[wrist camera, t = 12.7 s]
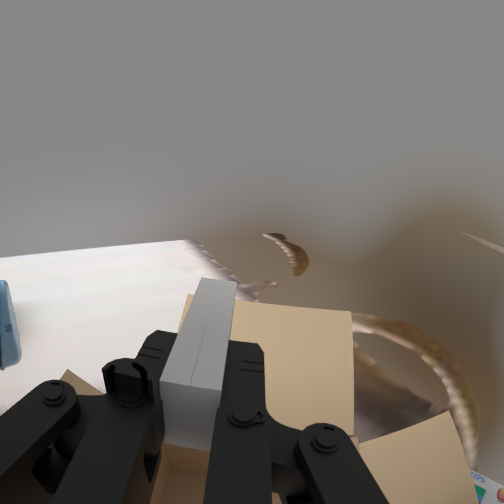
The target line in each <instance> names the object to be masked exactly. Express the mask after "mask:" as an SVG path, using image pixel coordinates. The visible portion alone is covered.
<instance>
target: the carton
mask: <svg viewBox="0 0 504 504" xmlns="http://www.w3.org/2000/svg"><path fill="white" fill-rule="evenodd" d="M60 380H62V381H65V382H67V383H69V384H70V385H71V386H73V387H74V389H75V391H76V394H77V395H103V393H102V392H100V391H99V390H97V389H96V388H94V387H93V386H91V385H90V384H88V383H87V382H85V381H84V380H82V379H81V378H79V377H78V376H77V375H75V374H74V373H72V372H71V371H70V370H68V369H67V370H66V372H65V373H64V375H63V376H62V377H61V379H60ZM350 439H351V440H352V442H353V444H354V445H355V447H356V449H357V450H358V452H359V454H360V455H361V457H362V459H363V460H364V462H365V464H366V465H367V467H368V469H369V470H370V472H371V474H372V475H373V477H374V479H375V480H376V482H377V484H378V485H379V487H380V489H381V490H382V492H383V494H384V495H385V497H386V498H387V500H388V502H389V503H390V504H479V501H478V497H477V493H476V490H475V486H474V483H473V479H472V476H471V472H470V469H469V466H468V463H467V460H466V457H465V454H464V451H463V448H462V445H461V442H460V439H459V436H458V433H457V431H456V428H455V425H454V422H453V420H452V417H451V415H450V412H449V411H447V412H445V413H442V414H440V415H438V416H435V417H433V418H431V419H428V420H426V421H423V422H421V423H418V424H416V425H413V426H410V427H408V428H405V429H402V430H399V431H397V432H394V433H391V434H388V435H385V436H382V437H379V438H375V439H372V440H369V441H365V442H362V443H359V439H358V437H350ZM161 450H162V459H161V463H160V466H159V470H158V474H157V478H156V481H155V485H154V489H153V493H152V497H151V501H150V504H203V498H204V491H205V484H206V477H207V470H208V464H209V457H210V451H206V450H199V449H193V448H187V447H181V446H176V445H171V444H166V443H165V436H164V438H163V442H162V445H161ZM272 504H282V503H281V500H280V497H279V494H277V493H274V492H272Z"/></svg>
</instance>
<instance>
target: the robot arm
mask: <svg viewBox="0 0 504 504" xmlns="http://www.w3.org/2000/svg"><path fill="white" fill-rule="evenodd" d="M236 286H237V282H232V281H224V280H216V279H209V278H201V281H200V283H199V285H198V288H197V290H196V292H195V295H194V297H193V299H192V302H191V304H190V306H189V309H188V311H187V314H186V316H185V318H184V321H183V323H182V326H181V328H180V331H179V333H172V332H166V331H160V330H156V331H155V332H153V333H152V334H150V335H149V336H147V338H146V340H145V341H144V343H143V345H142V348H141V349H140V351H139V352H138V355H137V356H136V358H135V359H130V358H122V359H115V360H113V361H111V362H109V363H107V364H106V365H105V366H104V367H103V368H102V373H103V378H104V382H105V387H106V392H107V393H106V394H103V395H77V394H76V391H75V389H74V387H73V386H71V385H70V384H69V383H67V382H65V381H62V380H49V381H45V382H43V383H41V384H40V385H38V386H37V387H35V388H34V389H33V390H32V391H30V392H29V393H28V394H27V395H26V396H24V397H23V398H22V399H21V400H19V401H18V402H17V403H16V404H15V405H13V406H12V407H11V408H10V409H9V410H7V411H6V412H5V413H4V414H2V415H1V416H0V504H150V501H151V497H152V493H153V489H154V485H155V481H156V478H157V474H158V470H159V466H160V463H161V459H162V450H161V445H162V442H163V438H164V436H165V443H166V444H171V445H176V446H181V447H187V448H193V449H199V450H206V451H210V457H209V464H208V470H207V477H206V484H205V491H204V498H203V504H272V492H274V493H277V494H279V497H280V500H281V503H282V504H390V503H389V502H388V500H387V498H386V497H385V495H384V494H383V492H382V490H381V489H380V487H379V485H378V484H377V482H376V480H375V479H374V477H373V475H372V474H371V472H370V470H369V469H368V467H367V465H366V464H365V462H364V460H363V459H362V457H361V455H360V454H359V452H358V450H357V449H356V447H355V445H354V444H353V442H352V440H351V439H350V437H349V436H348V435H347V433H346V432H345V431H344V430H343V429H341V428H339V427H337V426H336V425H332V424H328V423H315V424H312V425H309V426H307V427H306V428H304V429H303V430H298V429H295V428H292V427H288V426H286V425H283V424H281V423H279V422H278V421H276V420H274V419H273V417H272V416H271V415H270V414H269V412H268V411H267V408H266V397H265V365H264V363H265V362H264V352H263V350H262V349H261V347H260V346H259V344H258V343H251V342H242V341H234V340H230V338H231V329H232V320H233V312H234V303H235V294H236ZM20 359H21V345H20V339H19V334H18V329H17V324H16V319H15V314H14V309H13V304H12V299H11V295H10V290H9V287H8V284H7V282H6V281H5V280H0V370H4V369H5V368H7V367H10V366H12V365H15V364H17V363H18V362H19V361H20Z"/></svg>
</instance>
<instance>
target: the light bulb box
mask: <svg viewBox="0 0 504 504" xmlns="http://www.w3.org/2000/svg"><path fill="white" fill-rule="evenodd" d="M470 472H471V476H472V479H473V483H474V486H475V490H476V493H477V497H478V501H479V504H504V486H503V485H501V484H499V483H497V482H495V481H493V480H491V479H489V478H487V477H485V476H483V475H481V474H479V473H477V472H475V471H473V470H471V469H470Z"/></svg>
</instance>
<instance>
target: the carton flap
mask: <svg viewBox="0 0 504 504" xmlns="http://www.w3.org/2000/svg"><path fill="white" fill-rule="evenodd" d="M193 297H194V295H191V294H188V296H187V300H186V303H185V307H184V310H183V314H182V317H181V321H180V324H179V328H178V332H177V333H179V331H180V328H181V326H182V323H183V321H184V318H185V316H186V314H187V311H188V309H189V306H190V304H191V302H192V299H193ZM230 340H234V341H242V342H251V343H258V344H259V346H260V347H261V349H262V350H263V352H264V362H265V363H264V365H265V397H266V408H267V411H268V412H269V414H270V415H271V416H272V417H273V419H274V420H276V421H278V422H279V423H281V424H283V425H286V426H288V427H292V428H295V429H298V430H303V429H304V428H306V427H307V426H309V425H312V424H315V423H328V424H332V425H336V426H337V427H339V428H341V429H343V430H344V431H345V432H346V433H347V435H348V436H353V435H354V365H353V339H352V321H351V312H350V311H337V310H325V309H313V308H303V307H293V306H283V305H273V304H264V303H255V302H246V301H237V300H235V303H234V312H233V320H232V329H231V338H230Z"/></svg>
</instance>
